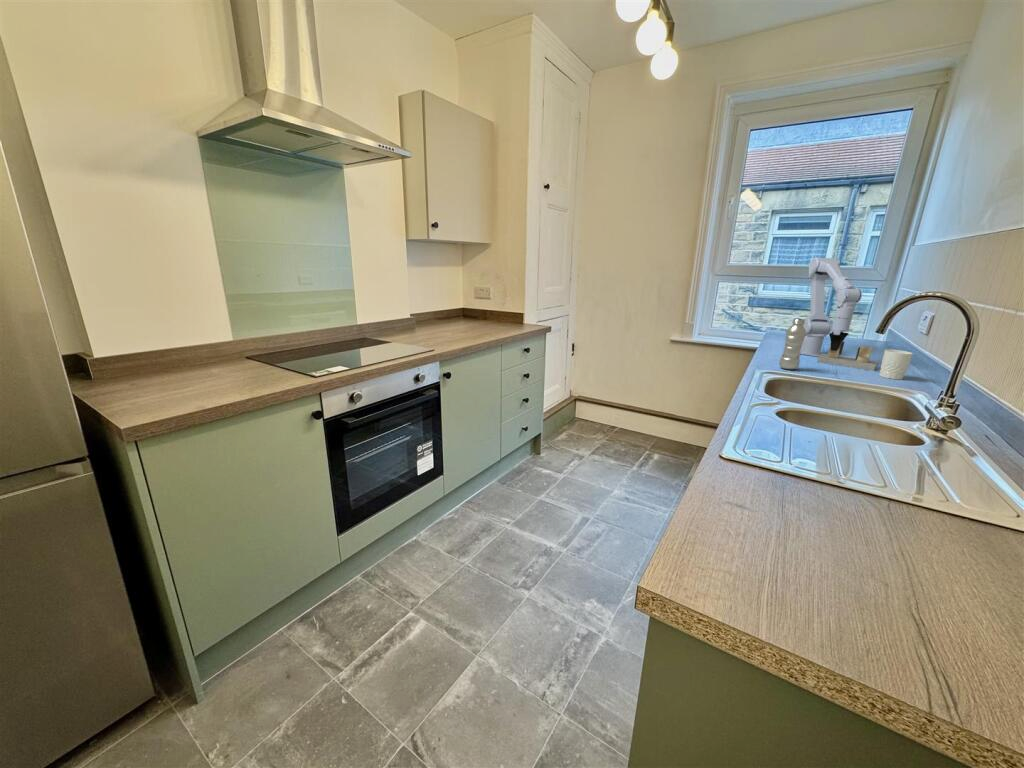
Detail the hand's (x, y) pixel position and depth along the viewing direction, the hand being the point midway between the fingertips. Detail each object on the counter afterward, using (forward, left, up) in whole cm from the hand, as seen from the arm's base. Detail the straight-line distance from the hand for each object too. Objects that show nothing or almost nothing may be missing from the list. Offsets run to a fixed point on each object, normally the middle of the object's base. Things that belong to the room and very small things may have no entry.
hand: (834, 349), depth 175 cm
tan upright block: (+10, 0, -4) cm, 11 cm away
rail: (+5, 0, -6) cm, 8 cm away
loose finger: (0, 0, -3) cm, 3 cm away
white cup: (+20, -11, -6) cm, 24 cm away
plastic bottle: (-10, -29, -6) cm, 31 cm away
